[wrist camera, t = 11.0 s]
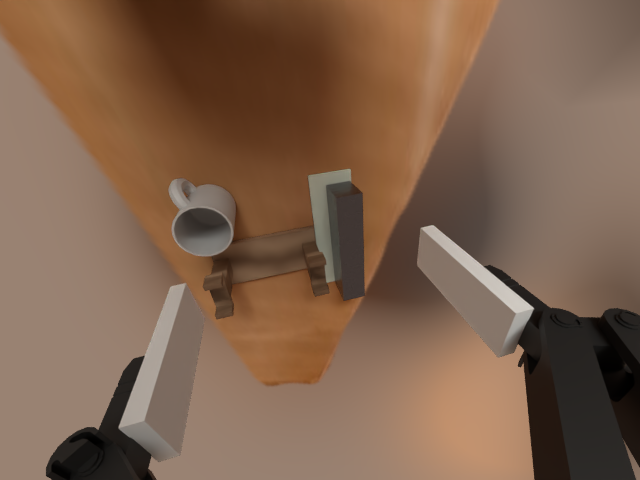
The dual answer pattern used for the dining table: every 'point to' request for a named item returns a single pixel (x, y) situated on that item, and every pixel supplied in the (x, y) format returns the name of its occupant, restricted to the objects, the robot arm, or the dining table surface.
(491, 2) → the dining table surface
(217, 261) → the stand
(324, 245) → the mat
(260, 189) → the dining table surface
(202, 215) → the cup
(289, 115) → the dining table surface
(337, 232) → the rail
